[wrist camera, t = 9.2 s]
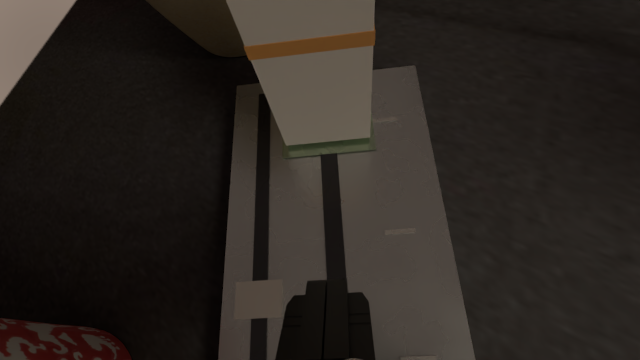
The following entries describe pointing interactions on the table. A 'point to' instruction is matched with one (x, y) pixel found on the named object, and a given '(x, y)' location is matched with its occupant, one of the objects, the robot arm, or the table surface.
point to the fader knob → (312, 64)
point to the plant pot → (204, 24)
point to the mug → (57, 342)
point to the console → (342, 228)
